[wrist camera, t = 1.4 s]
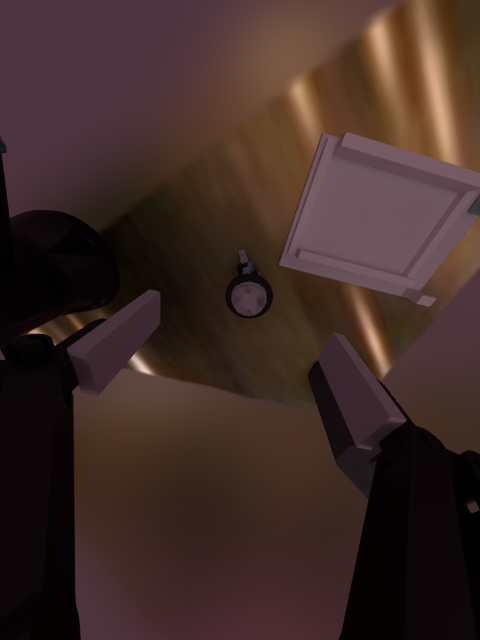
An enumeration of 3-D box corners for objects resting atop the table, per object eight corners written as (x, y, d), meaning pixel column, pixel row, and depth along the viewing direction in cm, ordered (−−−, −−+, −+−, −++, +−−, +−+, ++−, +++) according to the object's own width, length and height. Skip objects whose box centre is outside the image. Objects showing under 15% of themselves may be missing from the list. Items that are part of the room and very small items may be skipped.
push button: (225, 255, 27) (211, 273, 18) (260, 243, 26) (263, 257, 17) (239, 295, 30) (233, 327, 21) (271, 285, 29) (278, 316, 20)
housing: (278, 264, 27) (281, 270, 24) (322, 134, 20) (333, 120, 17) (411, 298, 28) (429, 308, 26) (497, 187, 21) (537, 182, 18)
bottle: (314, 394, 41) (420, 707, 15) (301, 363, 37) (417, 725, 11) (364, 382, 38) (603, 743, 12) (356, 347, 34) (694, 786, 8)
